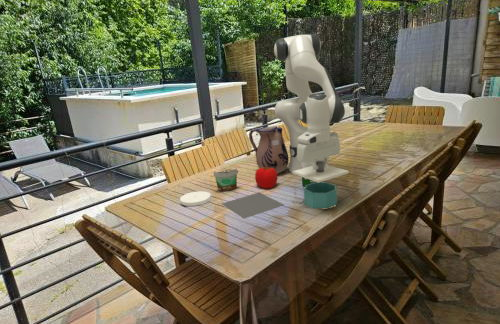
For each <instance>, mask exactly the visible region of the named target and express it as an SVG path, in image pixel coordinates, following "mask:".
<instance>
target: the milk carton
mask: <svg viewBox="0 0 500 324" xmlns="http://www.w3.org/2000/svg"><path fill="white" fill-rule="evenodd" d="M316 161H321V159H317V160H316ZM315 163H316V162H315ZM310 166H312V164H311V163H310V162H306V163H302V162H301V169H303V168H306V167H310ZM301 181H302V183H301V185H302V187H303V188H304V187H305V185H308V184H311V183H314V182H315V181H312V180H309V179H307V178H304V177H301Z"/></svg>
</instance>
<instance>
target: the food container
mask: <svg viewBox="0 0 500 324" xmlns="http://www.w3.org/2000/svg"><path fill="white" fill-rule="evenodd" d="M238 174H239V171H238V168H237V167H236V168H235V169H232V170H231V169H230V170H229V169H228V170H222V171H220V172H216V171H214V172H213V177H214V178H215V181H216V186H217V190H218V191H219V192H222V193H224V192H231V191H234V190H236V189H237V188H238V185H237V179H238Z"/></svg>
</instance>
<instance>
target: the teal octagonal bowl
mask: <svg viewBox="0 0 500 324" xmlns="http://www.w3.org/2000/svg"><path fill="white" fill-rule="evenodd" d="M303 188H304V187H303ZM303 195H304V196H303V197H304V198H303V199H304V202H303V203H304V205H305V206H308V207H309V208H311V207H312V208H311V209H317V208H329V207H331V206H334V205H336V204H337V205H338V186H337V185H336V184H334V183H330V182H327V181H326V182H325V181H323V182H319V183H318V182H314V183H311V184H308V185H305V188H304V189H303Z"/></svg>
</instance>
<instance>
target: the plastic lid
mask: <svg viewBox="0 0 500 324" xmlns="http://www.w3.org/2000/svg"><path fill="white" fill-rule="evenodd" d="M211 199H212V197H211V193H210V192H208V191H191V192H188V193H185V194H183V195H181V196H180V198H179V201H180V204H181V205H182V206H184V207H185V206H186V207H193V206H194V207H195V206H200V205H205V204H206V203H208V202H210V200H211Z"/></svg>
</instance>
